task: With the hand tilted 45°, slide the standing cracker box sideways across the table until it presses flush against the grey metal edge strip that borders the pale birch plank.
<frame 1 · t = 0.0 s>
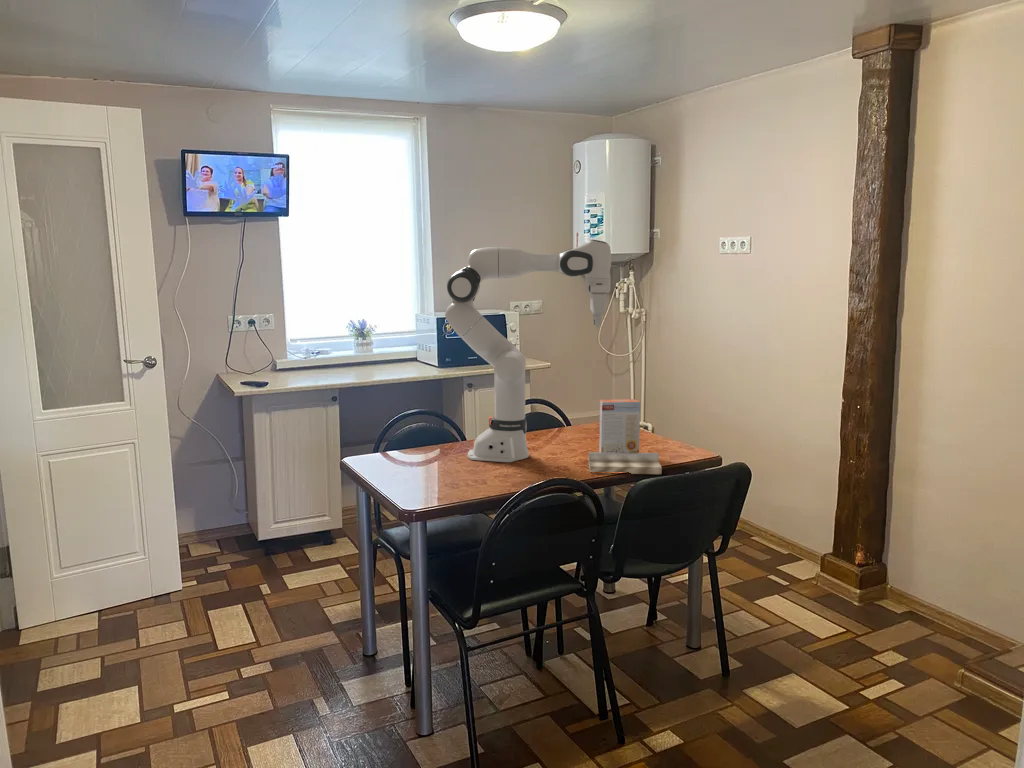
hand: (596, 325, 275), 48 cm above the table, tool pointing down, fingers open, 8 cm apart
edge rail: (623, 467, 270), on the table
cracker box: (618, 456, 285), on the table
birch plank: (624, 470, 266), on the table
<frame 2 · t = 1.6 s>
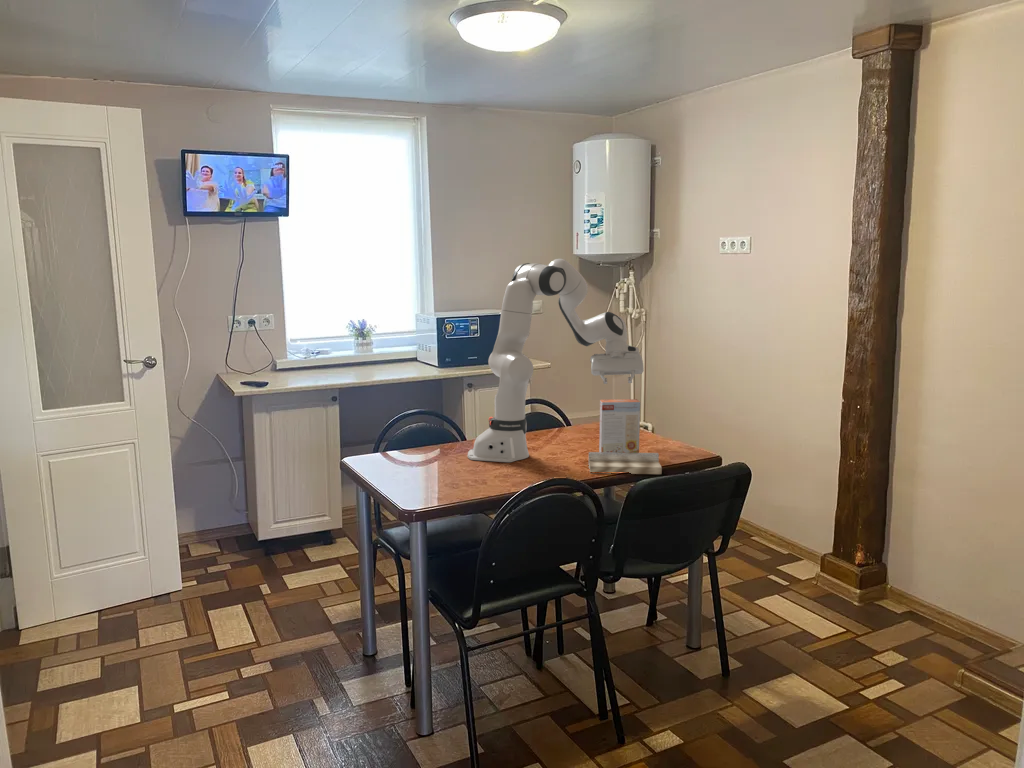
hand: (617, 382, 298), 24 cm above the table, tool tilted 45°, fingers open, 8 cm apart
nothing on the table moved.
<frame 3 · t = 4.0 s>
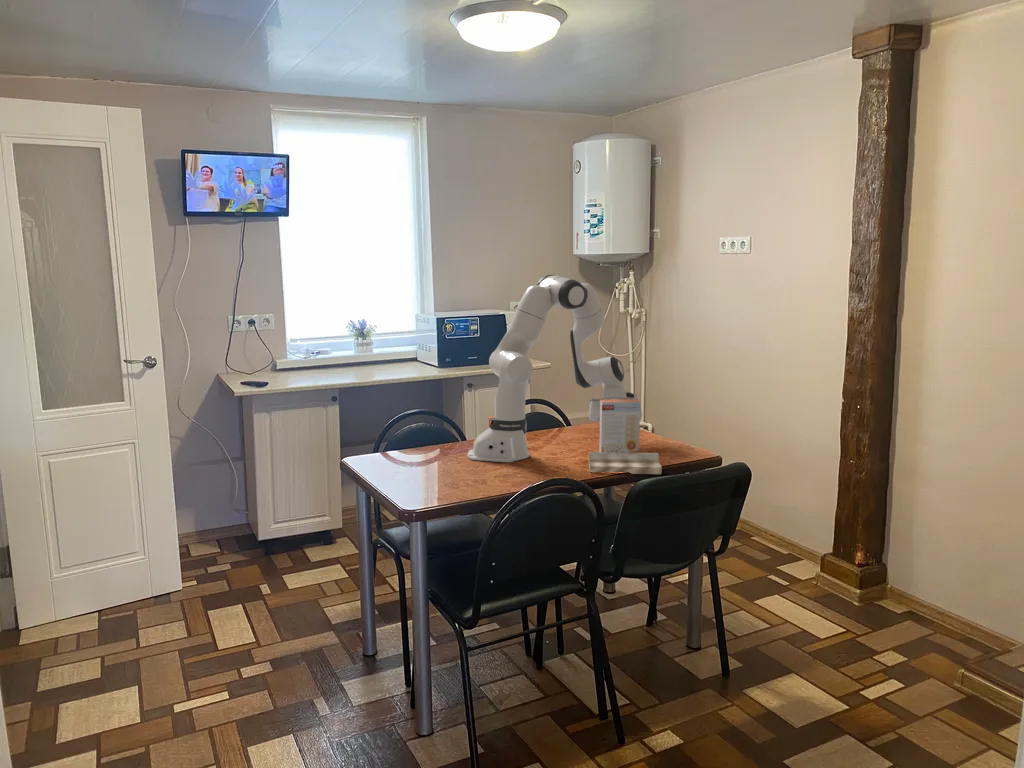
hand: (616, 429, 296), 7 cm above the table, tool tilted 45°, fingers closed
nothing on the table moved.
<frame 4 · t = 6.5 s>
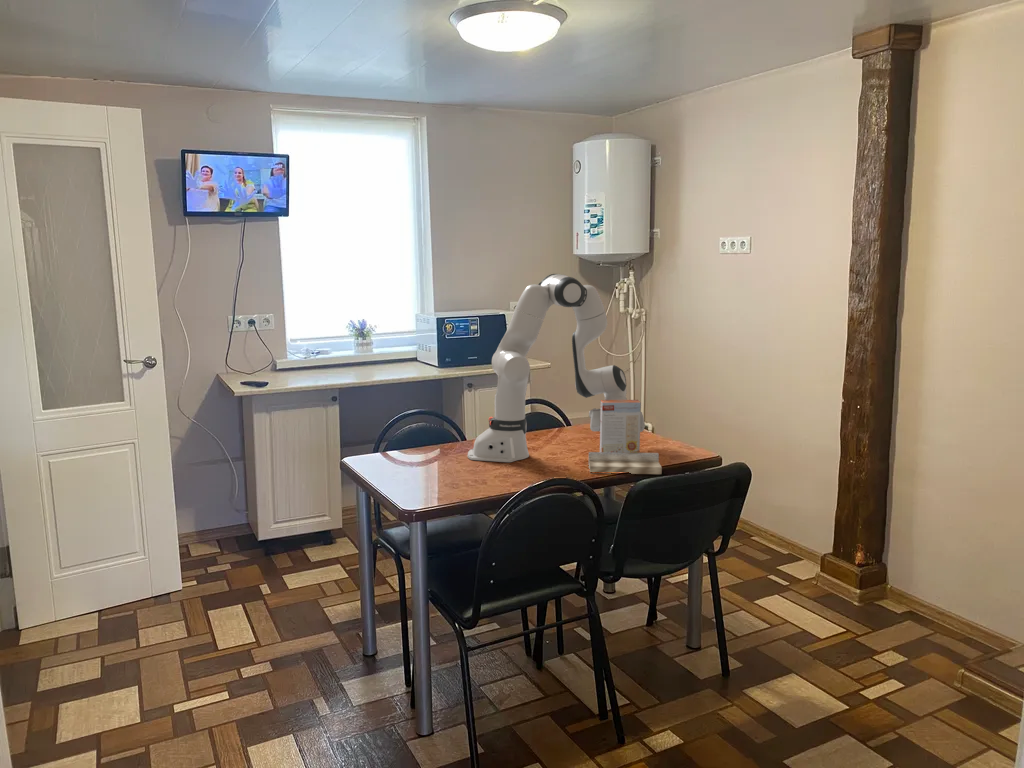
hand: (618, 440, 286), 5 cm above the table, tool tilted 45°, fingers closed
cracker box: (619, 457, 284), on the table, touching gripper
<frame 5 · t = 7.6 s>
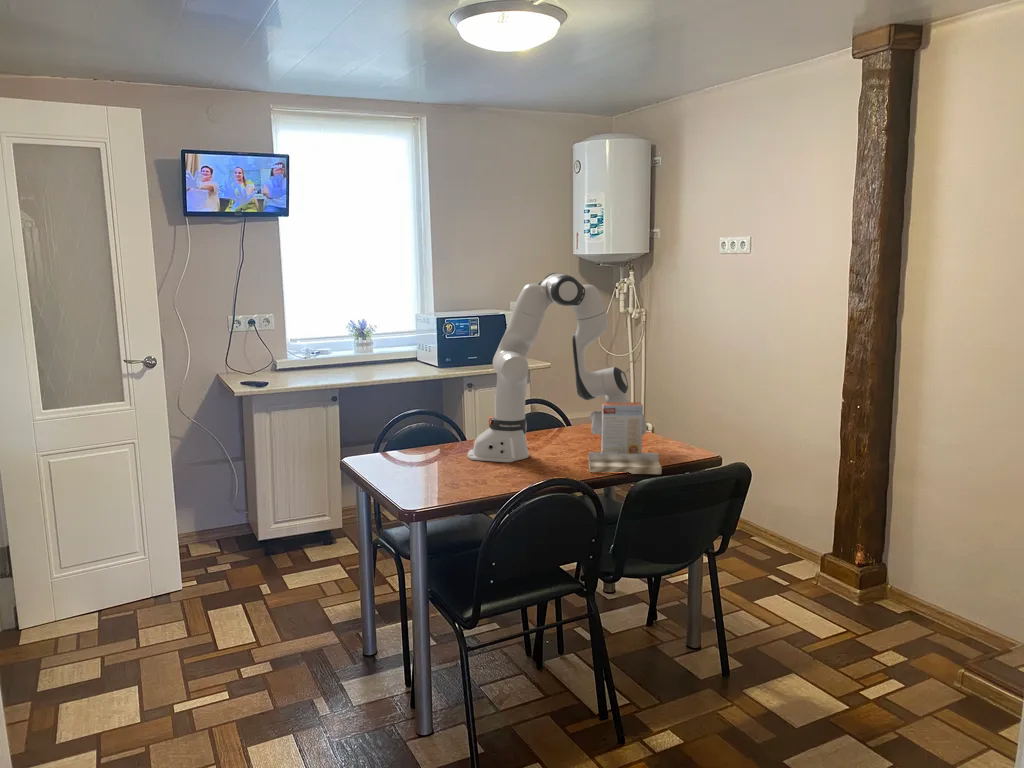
hand: (619, 443, 281), 5 cm above the table, tool tilted 45°, fingers closed, pressing on cracker box
cracker box: (620, 460, 279), on the table, touching gripper
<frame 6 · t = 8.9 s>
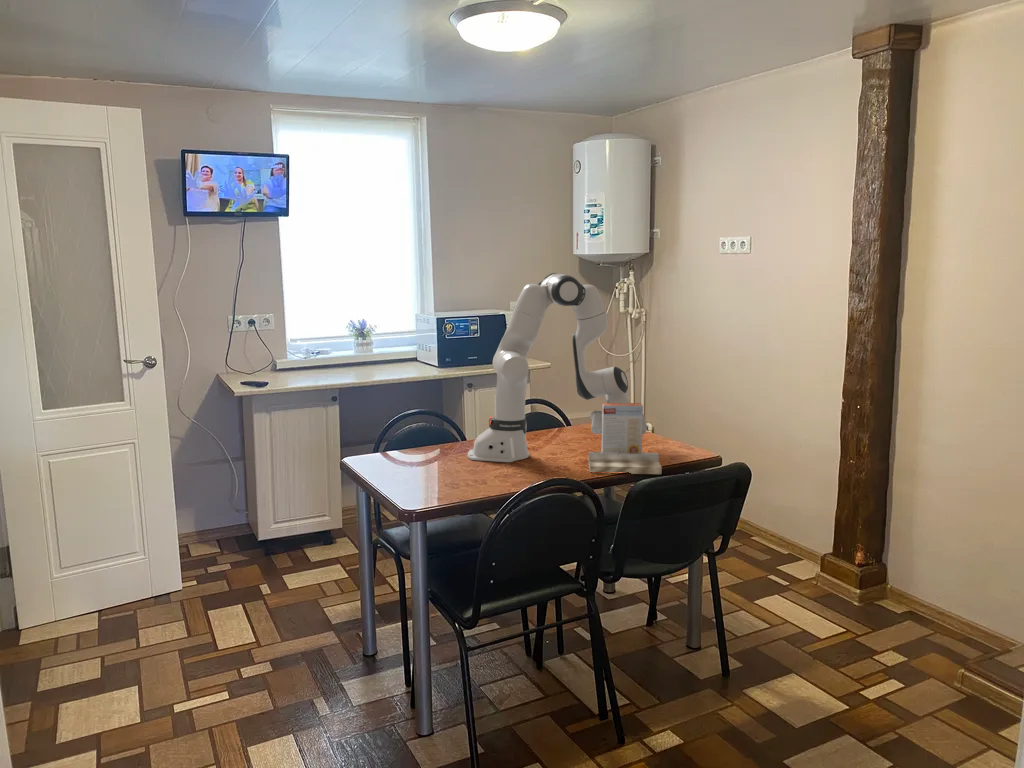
hand: (619, 442, 282), 5 cm above the table, tool tilted 45°, fingers closed
cracker box: (620, 461, 278), on the table
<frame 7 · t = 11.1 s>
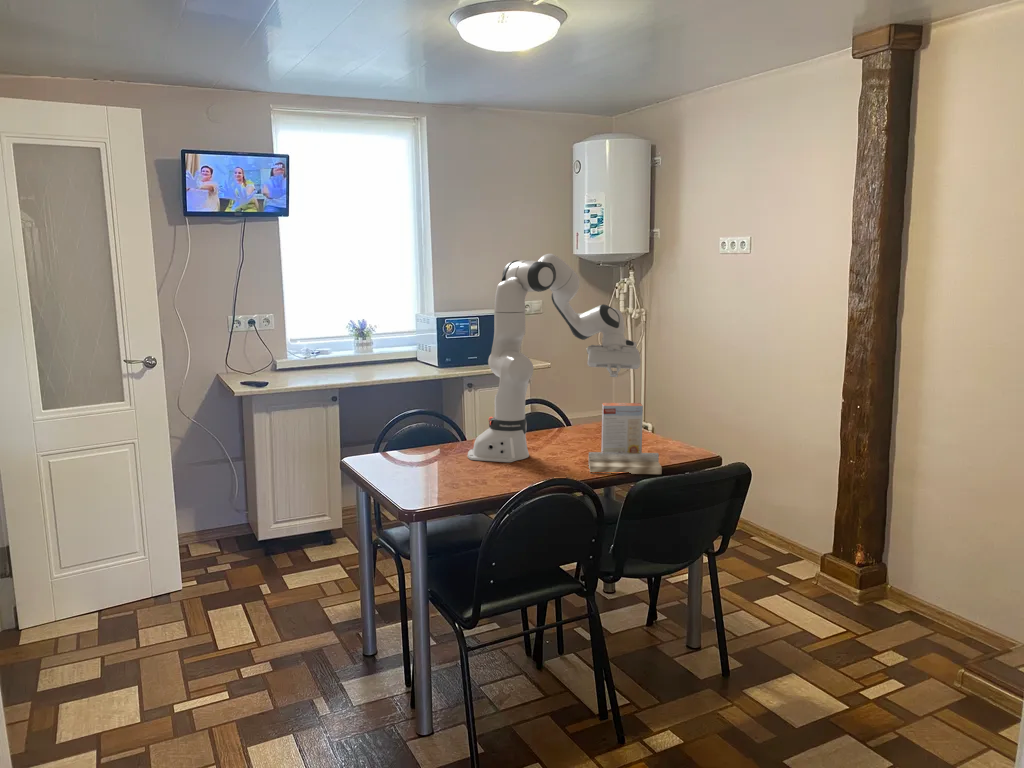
hand: (614, 376, 295), 27 cm above the table, tool tilted 40°, fingers closed
nothing on the table moved.
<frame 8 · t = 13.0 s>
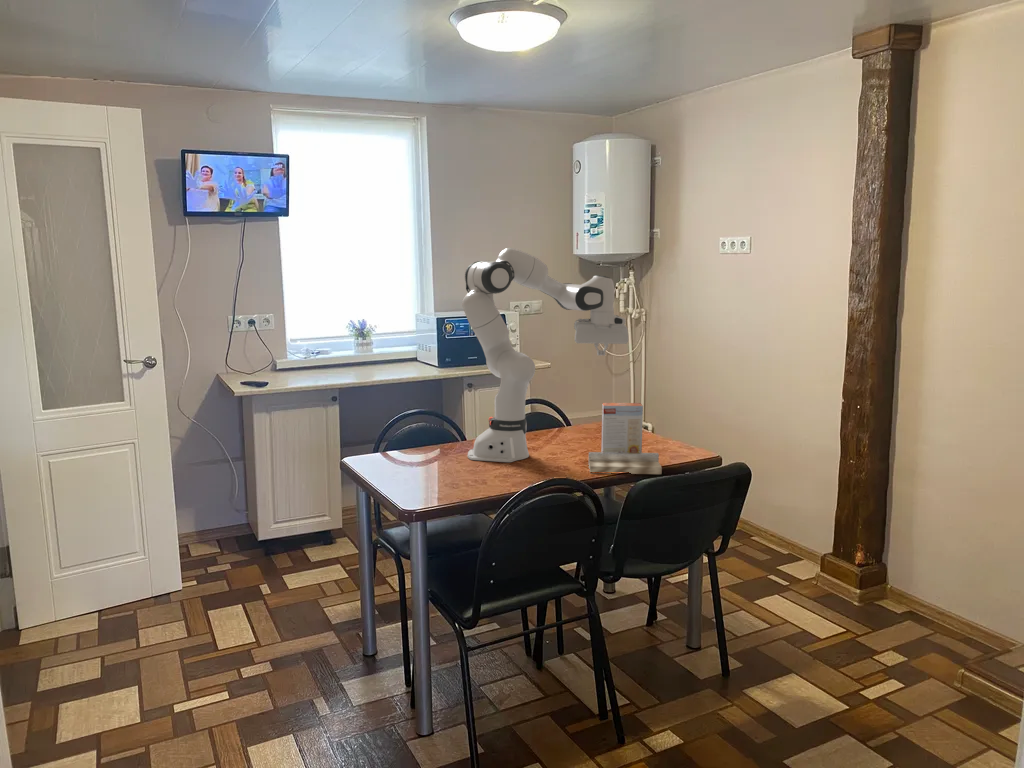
hand: (601, 355, 295), 35 cm above the table, tool pointing down, fingers closed
nothing on the table moved.
at the end: cracker box inside the target area (0.6 cm from its centre), on the table; cracker box tilted 0°; cracker box moved 6.7 cm from its start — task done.
